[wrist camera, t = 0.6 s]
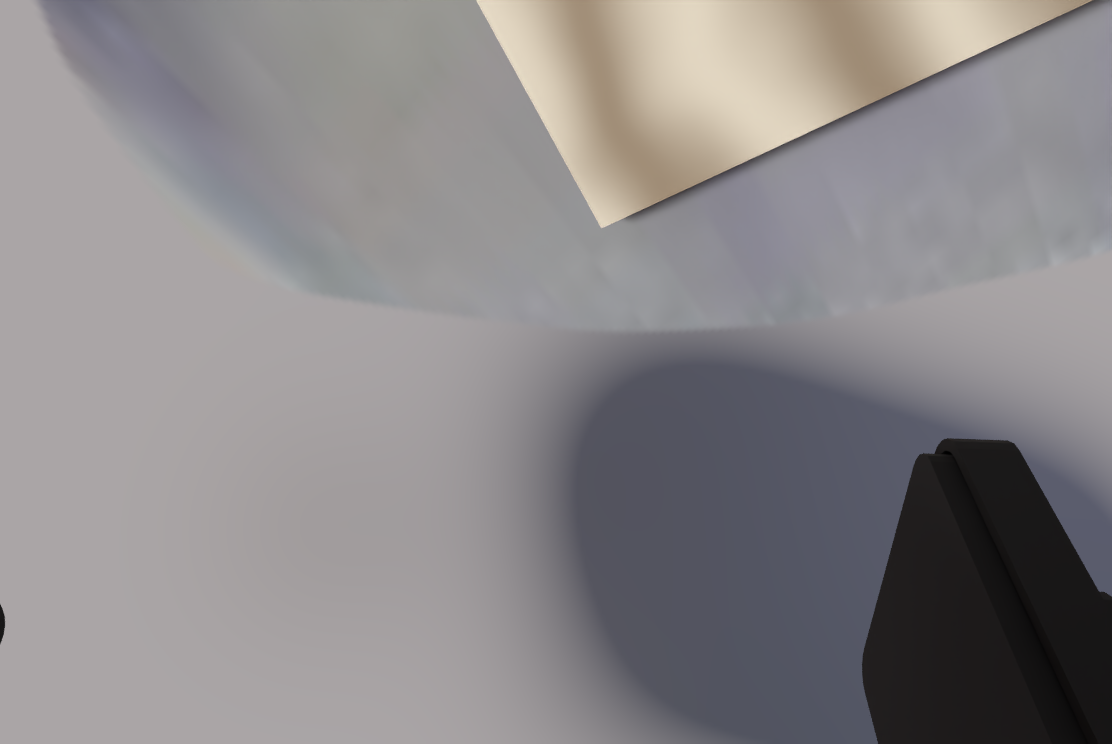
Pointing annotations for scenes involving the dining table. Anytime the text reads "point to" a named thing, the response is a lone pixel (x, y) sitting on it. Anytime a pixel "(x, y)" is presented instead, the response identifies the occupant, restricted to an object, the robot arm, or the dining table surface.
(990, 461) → the robot arm
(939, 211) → the dining table surface
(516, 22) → the birch board
